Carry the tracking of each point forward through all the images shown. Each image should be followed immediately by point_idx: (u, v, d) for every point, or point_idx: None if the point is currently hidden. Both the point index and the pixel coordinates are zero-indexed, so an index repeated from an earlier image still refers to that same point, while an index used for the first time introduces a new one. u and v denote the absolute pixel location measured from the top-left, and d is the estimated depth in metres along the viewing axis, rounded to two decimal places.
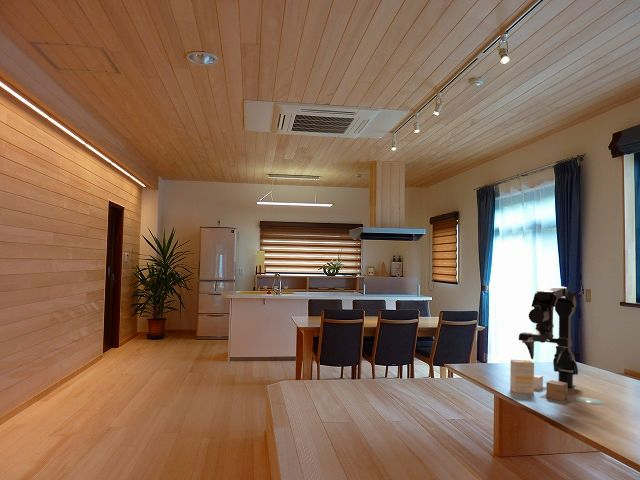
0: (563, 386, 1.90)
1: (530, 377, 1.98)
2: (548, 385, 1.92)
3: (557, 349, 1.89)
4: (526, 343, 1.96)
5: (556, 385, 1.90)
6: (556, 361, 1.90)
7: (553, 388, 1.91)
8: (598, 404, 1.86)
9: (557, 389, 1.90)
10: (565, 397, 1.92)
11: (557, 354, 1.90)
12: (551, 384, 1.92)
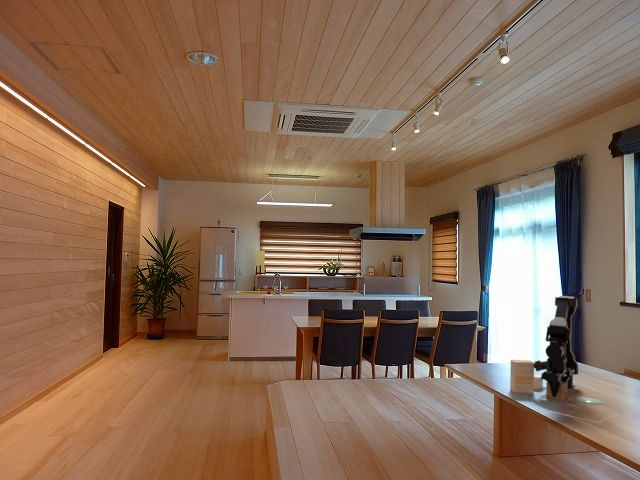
0: (563, 386, 1.90)
1: (530, 377, 1.98)
2: (548, 385, 1.92)
3: None
4: None
5: None
6: None
7: None
8: (598, 404, 1.86)
9: None
10: (565, 397, 1.92)
11: None
12: None
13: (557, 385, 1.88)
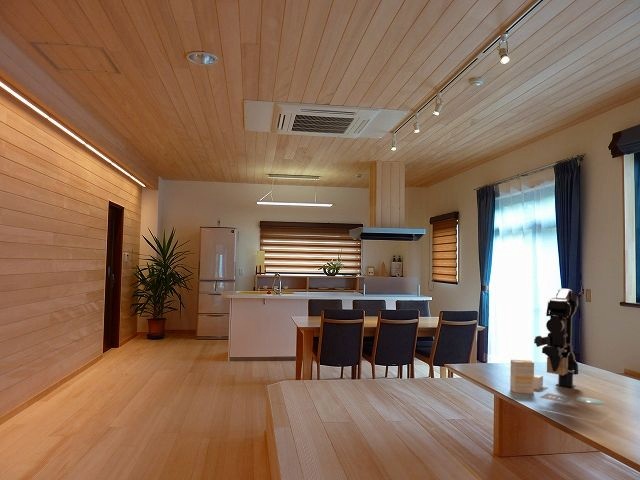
0: (564, 360, 1.90)
1: (530, 377, 1.98)
2: (549, 360, 1.93)
3: None
4: None
5: None
6: None
7: None
8: (598, 404, 1.86)
9: None
10: (566, 372, 1.92)
11: None
12: None
13: (558, 359, 1.89)
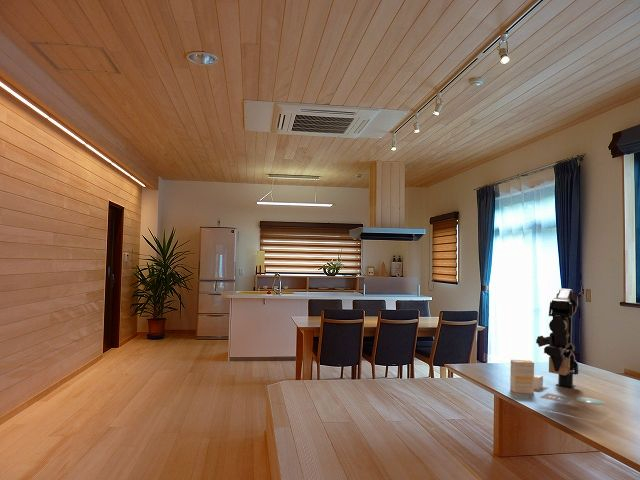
0: (566, 360, 1.90)
1: (531, 377, 1.98)
2: (551, 360, 1.93)
3: None
4: None
5: None
6: None
7: None
8: (598, 404, 1.86)
9: None
10: (568, 372, 1.92)
11: None
12: None
13: (560, 359, 1.89)
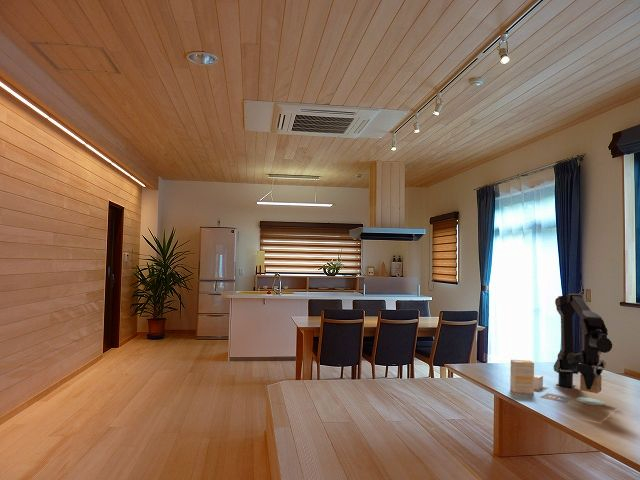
0: (598, 378, 1.88)
1: (530, 377, 1.98)
2: (582, 377, 1.90)
3: None
4: None
5: None
6: (586, 386, 1.89)
7: None
8: (598, 404, 1.86)
9: None
10: (600, 390, 1.89)
11: None
12: None
13: (592, 377, 1.86)
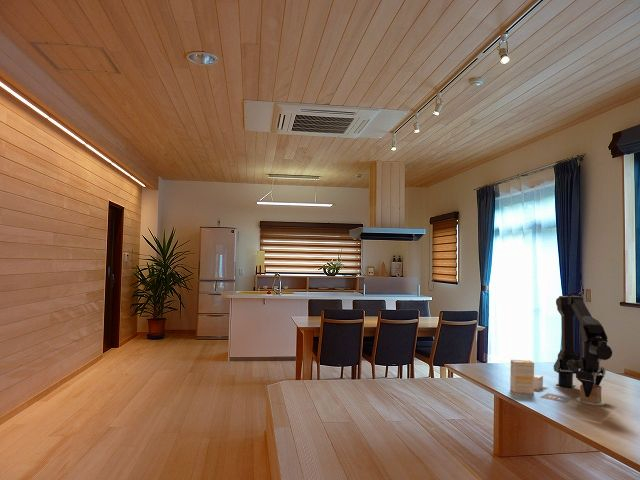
0: (598, 389, 1.88)
1: (531, 377, 1.98)
2: (582, 388, 1.90)
3: None
4: None
5: None
6: (585, 394, 1.88)
7: None
8: (598, 404, 1.86)
9: (591, 392, 1.88)
10: (599, 400, 1.89)
11: None
12: None
13: (591, 385, 1.85)
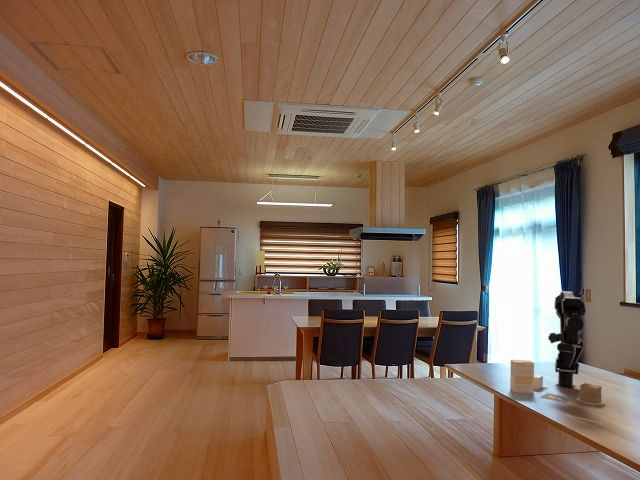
0: (598, 389, 1.88)
1: (531, 377, 1.98)
2: (582, 388, 1.90)
3: None
4: None
5: (590, 388, 1.88)
6: (565, 365, 1.96)
7: (587, 391, 1.89)
8: (598, 404, 1.86)
9: (591, 392, 1.88)
10: (599, 400, 1.89)
11: None
12: (585, 387, 1.89)
13: (571, 356, 1.94)
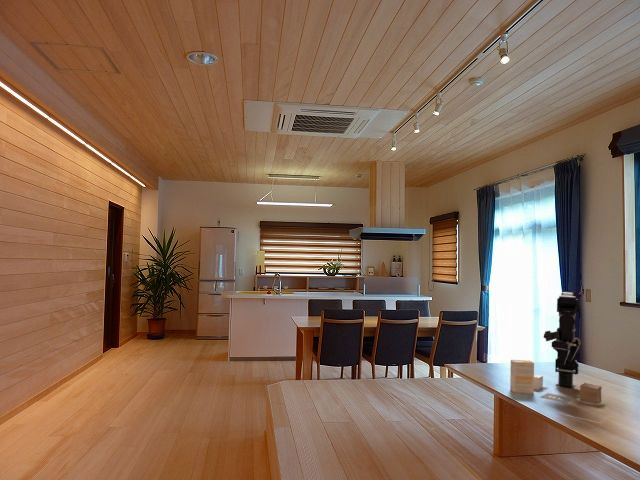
0: (598, 389, 1.88)
1: (530, 377, 1.98)
2: (582, 388, 1.90)
3: None
4: None
5: (590, 388, 1.88)
6: (560, 362, 1.98)
7: (587, 391, 1.89)
8: (598, 404, 1.86)
9: (591, 392, 1.88)
10: (599, 400, 1.89)
11: None
12: (585, 387, 1.89)
13: (565, 353, 1.96)
